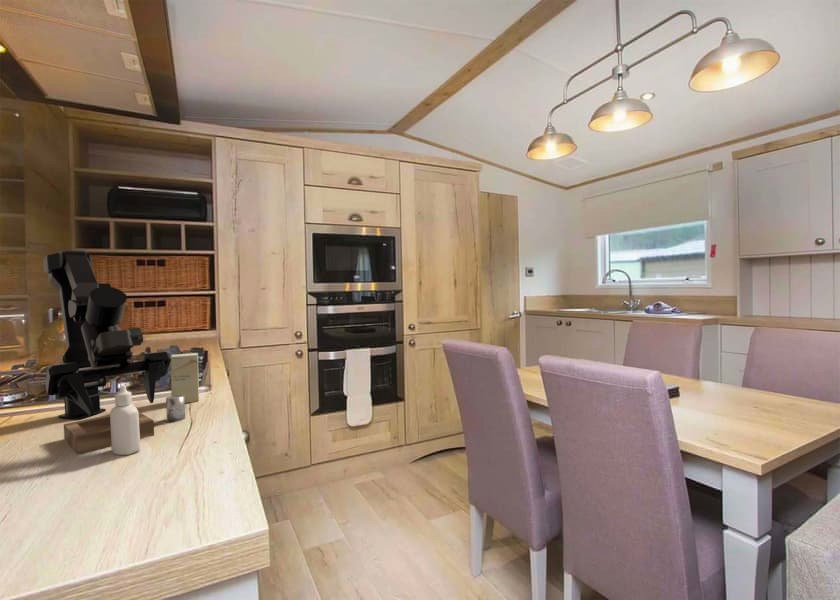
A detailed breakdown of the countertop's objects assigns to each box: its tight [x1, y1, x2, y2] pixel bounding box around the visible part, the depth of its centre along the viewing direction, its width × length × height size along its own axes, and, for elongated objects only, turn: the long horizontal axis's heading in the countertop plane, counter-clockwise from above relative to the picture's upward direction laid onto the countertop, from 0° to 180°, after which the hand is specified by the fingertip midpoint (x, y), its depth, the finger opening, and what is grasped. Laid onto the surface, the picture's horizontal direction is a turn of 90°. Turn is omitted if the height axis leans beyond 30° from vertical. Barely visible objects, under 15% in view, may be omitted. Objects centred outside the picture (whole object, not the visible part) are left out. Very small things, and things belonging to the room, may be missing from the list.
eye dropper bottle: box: [109, 384, 141, 456], centre depth 76 cm, size 4×6×12 cm
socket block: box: [63, 411, 155, 455], centre depth 83 cm, size 12×12×3 cm
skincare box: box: [170, 352, 200, 404], centre depth 108 cm, size 6×4×12 cm
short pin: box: [165, 395, 186, 423], centre depth 93 cm, size 4×4×5 cm
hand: (123, 407), depth 76 cm, fingers open, 9 cm apart
